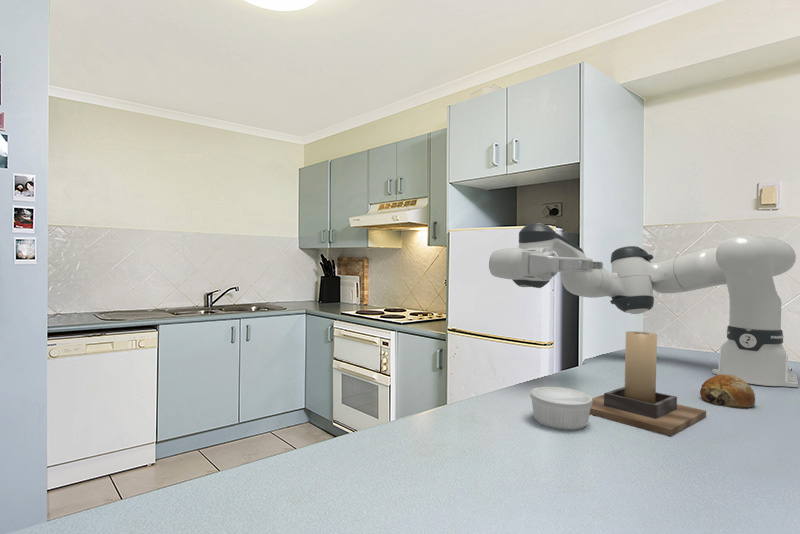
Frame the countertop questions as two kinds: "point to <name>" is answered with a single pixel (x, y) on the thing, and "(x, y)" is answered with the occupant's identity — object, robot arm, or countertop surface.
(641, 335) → the beige pillar candle
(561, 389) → the ramekin
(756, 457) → the countertop surface
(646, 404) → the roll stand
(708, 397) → the bread roll
